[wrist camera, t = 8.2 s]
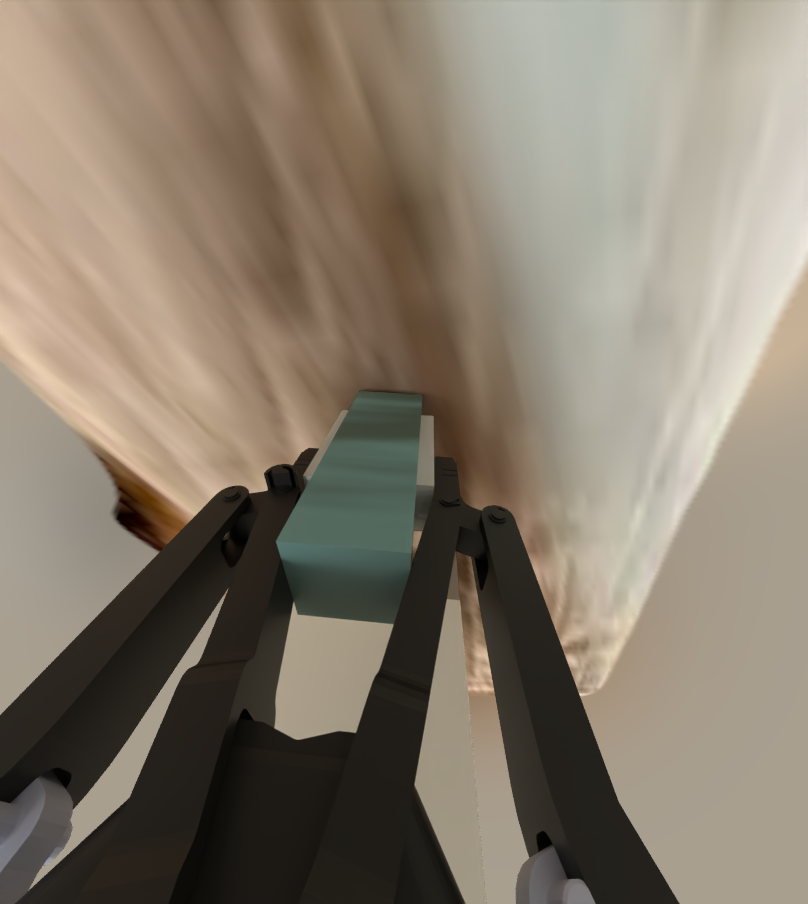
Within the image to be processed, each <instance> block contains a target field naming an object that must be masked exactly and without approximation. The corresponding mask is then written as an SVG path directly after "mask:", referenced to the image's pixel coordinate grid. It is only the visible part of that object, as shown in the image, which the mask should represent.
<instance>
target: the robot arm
mask: <svg viewBox="0 0 808 904" xmlns="http://www.w3.org/2000/svg"><path fill="white" fill-rule="evenodd" d="M348 411H349V410H342V411H341V413H340V415H339V416H338V418H337V420H336V421H335V423H334V425H333V426H332V428H331V430H330V431H329V433H328V435H327V436H326V438H325V440H324V441H323V443H322V445H321V446H320V448H319V449H316V448H308V449H306V450H305V451H304V452H302V453H301V454H300V456H299V457H298V459H297V460H296V462H295V463H294V465H293V466H292V465H289V464H281V465H276V466H273V467H271V468H269V469H268V470H267V471H266V472H265V473H264V476H265V479H266V483H267V487H268V490H267V491H264V492H258V493H250V494H249V491H248V489H247V488H246V487H243V486H232V487H228V488H225V489H223V490H221V491H220V492H219V493H217V494H216V495H215V496H214V497H213V498H212V499H211V500H210V501H209V502H208V503H207V505H206V506H205V507H204V508H203V509H202V510H201V511H200V512H199V513H198V514H197V515H196V516H195V517H194V518H193V519H192V520H191V521H190V522H189V523H188V524H187V525H186V526H185V527H184V528H183V529H182V530H181V531H180V532H179V533H178V534H177V535H176V536H175V537H174V538H173V539H172V540H171V541H170V542H169V543H168V544H167V545H166V546H165V547H164V548H163V549H162V550H161V551H160V553H159V554H158V555H157V556H156V557H155V558H154V559H153V560H152V561H151V562H150V563H149V564H148V565H147V566H146V567H145V568H144V569H143V570H142V571H141V572H140V573H139V574H138V575H137V576H136V577H135V578H134V579H133V580H132V581H131V582H130V583H129V584H128V585H127V586H126V587H125V588H124V589H123V590H122V591H121V592H120V593H119V594H118V595H117V596H116V598H115V599H114V600H113V601H112V602H111V603H110V604H109V605H108V606H107V607H106V608H105V609H104V610H103V611H102V612H101V613H100V614H99V615H98V616H97V617H96V618H95V619H94V620H93V621H92V622H91V623H90V624H89V625H88V626H87V627H86V628H85V629H84V630H83V631H82V632H81V633H80V634H79V635H78V636H77V637H76V638H75V639H74V640H73V641H72V642H71V643H70V644H69V645H68V647H67V648H66V649H65V650H64V651H63V652H62V653H61V654H60V655H59V656H58V657H57V658H56V659H55V660H54V661H53V662H52V663H51V664H50V665H49V666H48V667H47V668H46V669H45V670H44V671H43V672H42V673H41V674H40V675H39V676H38V677H37V678H36V679H35V680H34V681H33V682H32V683H31V684H30V685H29V687H27V688H26V690H25V691H24V692H22V694H21V695H20V696H19V697H18V698H17V699H16V700H15V701H14V702H13V703H12V704H11V705H10V706H9V707H8V708H7V709H6V710H5V711H4V712H3V713H2V714H1V715H0V904H465V901H464V899H463V897H462V894H461V892H460V890H459V887H458V885H457V883H456V880H455V878H454V876H453V873H452V871H451V869H450V866H449V864H448V862H447V859H446V857H445V855H444V852H443V850H442V848H441V845H440V843H439V841H438V838H437V836H436V834H435V831H434V829H433V827H432V824H431V822H430V820H429V817H428V815H427V813H426V810H425V808H424V806H423V803H422V801H421V799H420V796H419V794H418V792H417V789H416V787H415V779H416V773H417V768H418V762H419V756H420V751H421V745H422V739H423V733H424V728H425V722H426V716H427V711H428V705H429V699H430V692H431V686H432V680H433V675H434V669H435V663H436V658H437V652H438V646H439V641H440V635H441V629H442V624H443V618H444V612H445V607H446V601H447V595H448V590H449V584H450V578H451V573H452V567H453V561H454V556H455V551H457V552H460V553H463V554H465V555H468V556H471V559H472V565H473V571H474V576H475V582H476V588H477V594H478V599H479V605H480V611H481V617H482V622H483V628H484V634H485V640H486V645H487V651H488V657H489V662H490V668H491V674H492V680H493V685H494V691H495V697H496V703H497V708H498V714H499V720H500V726H501V731H502V737H503V743H504V749H505V754H506V760H507V765H508V771H509V777H510V783H511V788H512V793H513V798H514V802H515V807H516V812H517V816H518V820H519V824H520V827H521V830H522V834H523V837H524V841H525V845H526V848H527V852H528V855H529V857H530V858H529V859H528V860H527V861H526V862H525V863H524V864H523V865H522V867H521V870H520V872H519V874H518V878H517V884H516V904H679V902H678V901H677V899H676V897H675V895H674V894H673V892H672V890H671V889H670V887H669V885H668V884H667V882H666V880H665V879H664V877H663V875H662V874H661V872H660V870H659V869H658V867H657V865H656V864H655V862H654V861H653V859H652V857H651V855H650V854H649V852H648V850H647V849H646V847H645V846H644V844H643V842H642V840H641V839H640V837H639V835H638V834H637V832H636V830H635V829H634V827H633V825H632V824H631V822H630V820H629V819H628V817H627V815H626V814H625V812H624V810H623V809H622V807H621V805H620V804H619V802H618V799H617V796H616V793H615V791H614V788H613V785H612V783H611V780H610V777H609V774H608V772H607V769H606V766H605V764H604V761H603V758H602V755H601V753H600V750H599V747H598V744H597V742H596V739H595V736H594V733H593V731H592V728H591V725H590V723H589V720H588V717H587V714H586V712H585V709H584V706H583V703H582V701H581V698H580V695H579V693H578V690H577V687H576V684H575V682H574V679H573V676H572V674H571V671H570V668H569V665H568V663H567V660H566V657H565V655H564V652H563V649H562V646H561V644H560V641H559V638H558V636H557V633H556V630H555V627H554V625H553V622H552V619H551V616H550V614H549V611H548V608H547V606H546V603H545V600H544V597H543V595H542V592H541V589H540V587H539V584H538V581H537V578H536V576H535V573H534V570H533V568H532V565H531V562H530V559H529V557H528V554H527V551H526V548H525V546H524V543H523V540H522V538H521V535H520V532H519V529H518V527H517V524H516V521H515V519H514V517H513V515H512V513H511V512H509V511H508V510H507V509H505V508H503V507H501V506H495V505H493V506H487V507H485V508H484V509H483V510H482V511H481V510H478V509H475V508H472V507H470V506H468V505H467V504H465V503H464V502H463V499H462V498H461V496H460V490H459V482H458V473H457V465H456V463H455V461H454V460H453V459H452V458H447V457H434V416H426V415H421V426H420V440H419V454H418V469H417V483H416V497H415V511H414V526H413V530H414V531H423V532H422V535H421V538H420V541H419V545H418V548H417V551H416V554H415V557H414V561H413V564H412V567H411V570H410V574H409V577H408V580H407V583H406V586H405V590H404V593H403V596H402V599H401V602H400V606H399V609H398V612H397V615H396V618H395V622H394V625H393V628H392V631H391V635H390V638H389V641H388V644H387V647H386V651H385V654H384V657H383V660H382V663H381V666H380V669H379V671H378V673H377V674H376V675H375V678H374V680H373V682H372V685H371V688H370V691H369V694H368V697H367V700H366V703H365V706H364V709H363V712H362V715H361V719H360V722H359V725H358V728H357V731H356V733H353V732H344V731H336V732H332V733H327V734H323V735H318V736H314V737H309V738H305V739H300V740H297V739H294V738H292V737H290V736H288V735H286V734H284V733H283V732H281V731H279V730H277V729H275V728H274V727H275V717H276V704H275V700H276V691H277V686H278V681H279V675H280V670H281V665H282V660H283V655H284V649H285V644H286V639H287V634H288V629H289V623H290V618H291V613H292V608H293V602H294V600H293V597H292V594H291V590H290V587H289V584H288V580H287V577H286V574H285V570H284V567H283V563H282V560H281V557H280V553H279V550H278V547H277V543H276V540H277V538H278V537H279V535H280V533H281V531H282V529H283V528H284V526H285V524H286V522H287V520H288V519H289V517H290V515H291V513H292V511H293V510H294V508H295V506H296V504H297V502H298V501H299V499H300V497H301V495H302V493H303V492H304V490H305V488H306V486H307V484H308V483H309V481H310V479H311V477H312V475H313V474H314V472H315V470H316V468H317V466H318V465H319V463H320V461H321V459H322V457H323V456H324V454H325V452H326V450H327V448H328V447H329V445H330V443H331V441H332V439H333V438H334V436H335V434H336V432H337V430H338V429H339V427H340V425H341V423H342V421H343V420H344V418H345V416H346V414H347V412H348ZM226 534H227V535H226ZM225 535H226V536H225ZM228 588H229V589H228ZM227 589H228V591H227ZM226 591H227V594H226V597H225V599H224V602H223V604H222V607H221V609H220V612H219V614H218V617H217V619H216V622H215V624H214V627H213V629H212V632H211V635H210V637H209V639H208V642H207V645H206V647H205V650H204V653H203V655H202V657H201V659H200V661H199V662H198V664H197V665H195V666H193V667H191V668H189V669H188V670H187V671H186V672H185V673H184V675H183V676H182V678H181V680H180V682H179V684H178V686H177V688H176V690H175V692H174V695H173V697H172V699H171V702H170V704H169V706H168V709H167V711H166V714H165V716H164V718H163V721H162V723H161V725H160V728H159V730H158V732H157V735H156V737H155V739H154V742H153V744H152V746H151V749H150V751H149V753H148V756H147V758H146V761H145V763H144V765H143V768H142V770H141V773H140V775H139V777H138V779H137V782H136V784H135V786H134V789H133V791H132V794H131V796H130V798H129V799H128V800H127V801H126V802H124V804H122V805H121V806H120V807H119V808H118V809H117V810H116V811H115V812H114V813H112V814H111V815H110V816H109V817H108V818H107V819H106V820H105V821H104V822H103V823H102V824H101V825H99V826H98V827H97V829H95V830H94V831H93V832H92V833H91V834H90V835H89V836H88V837H86V838H85V839H84V840H83V841H82V842H81V843H80V844H79V845H78V846H77V847H76V848H75V849H73V851H71V852H70V853H69V854H68V855H67V856H66V857H65V858H64V859H63V860H62V861H60V862H59V863H58V864H57V865H56V866H55V867H54V868H53V869H52V870H51V871H50V872H48V874H46V875H45V876H44V877H43V878H42V879H41V880H40V881H39V882H38V883H37V884H35V885H34V886H33V887H32V888H31V889H30V890H29V888H30V886H31V884H32V883H33V881H34V879H35V877H36V875H37V873H38V872H39V870H40V869H41V868H42V866H45V865H46V864H48V863H49V862H51V861H52V860H53V859H55V857H56V856H57V855H58V854H59V853H60V852H61V851H62V850H63V848H64V847H65V845H66V843H67V842H68V840H69V838H70V835H71V831H72V824H71V822H70V819H71V816H72V811H73V809H74V808H75V807H76V806H77V805H78V803H79V802H80V801H81V800H82V799H83V798H84V796H85V795H86V794H87V793H88V792H89V791H90V789H91V788H92V787H93V786H94V784H95V783H96V782H97V781H98V779H99V778H100V777H101V775H102V774H103V773H104V771H106V769H107V768H108V767H109V766H110V764H111V763H112V761H113V760H114V758H115V757H116V756H117V754H118V753H119V751H120V750H121V748H122V747H123V746H124V744H125V743H126V741H127V740H128V739H129V737H130V735H131V734H132V732H133V731H134V730H135V728H136V727H137V725H138V724H139V722H140V721H141V719H142V718H143V716H144V714H145V713H146V712H147V710H148V709H149V707H150V706H151V704H152V702H153V701H154V699H155V698H156V696H157V695H158V693H159V692H160V690H161V689H162V687H163V686H164V684H165V683H166V681H167V680H168V678H169V677H170V675H171V674H172V672H173V671H174V669H175V668H176V666H177V665H178V663H179V662H180V660H181V659H182V657H183V656H184V654H185V653H186V651H187V650H188V648H189V647H190V645H191V643H192V642H193V641H194V639H195V638H196V636H197V634H198V633H199V632H200V630H201V628H202V627H203V625H204V624H205V622H206V621H207V619H208V618H209V616H210V615H211V613H212V611H213V610H214V609H215V607H216V606H217V604H218V603H219V601H220V600H221V598H222V597H223V595H224V594H225V592H226ZM28 890H29V891H28Z"/></svg>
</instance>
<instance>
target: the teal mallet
mask: <svg viewBox="0 0 808 904" xmlns="http://www.w3.org/2000/svg"><path fill="white" fill-rule="evenodd" d="M422 397H423V395H417V394H401V393H385V392H369V391H359V393H358V394H357V396H356V398H355V400H354V402H353V403H352V405H351V407H350V409H349V411H348V412H347V414H346V416H345V418H344V420H343V421H342V423H341V425H340V427H339V429H338V430H337V432H336V434H335V436H334V438H333V439H332V441H331V443H330V445H329V447H328V448H327V450H326V452H325V454H324V456H323V457H322V459H321V461H320V463H319V465H318V466H317V468H316V470H315V472H314V474H313V475H312V477H311V479H310V481H309V483H308V484H307V486H306V488H305V490H304V492H303V493H302V495H301V497H300V499H299V501H298V502H297V504H296V506H295V508H294V510H293V511H292V513H291V515H290V517H289V519H288V520H287V522H286V524H285V526H284V528H283V529H282V531H281V533H280V535H279V537H278V538H277V540H276V543H277V547H278V550H279V553H280V557H281V560H282V563H283V567H284V570H285V574H286V577H287V580H288V584H289V587H290V590H291V594H292V597H293V600H294V604H295V607H296V611H297V614H298V615H306V616H316V617H326V618H336V619H346V620H356V621H366V622H376V623H386V624H394V622H395V618H396V615H397V612H398V609H399V606H400V602H401V599H402V596H403V593H404V590H405V586H406V583H407V580H408V577H409V574H410V568H411V554H412V540H413V526H414V511H415V497H416V483H417V469H418V454H419V440H420V426H421V411H422Z"/></svg>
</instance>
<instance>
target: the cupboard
mask: <svg viewBox="0 0 808 904" xmlns="http://www.w3.org/2000/svg"><path fill="white" fill-rule="evenodd" d="M393 625H394V624H386V623H376V622H366V621H356V620H346V619H336V618H326V617H316V616H306V615H298V614H297V611H296V607H295V604H294V602H293V608H292V613H291V618H290V623H289V629H288V634H287V639H286V644H285V649H284V655H283V660H282V665H281V670H280V675H279V681H278V686H277V691H276V700H275V704H276V717H275V727H274V728H275V729H277V730H279V731H281V732H283V733H284V734H286V735H288V736H290V737H292V738H294V739H297V740H300V739H305V738H309V737H314V736H318V735H323V734H327V733H332V732H336V731H344V732H353V733H356V731H357V728H358V725H359V722H360V719H361V715H362V712H363V709H364V706H365V703H366V700H367V697H368V694H369V691H370V688H371V685H372V682H373V680H374V678H375V675H376V674H377V673H378V671H379V669H380V666H381V663H382V660H383V657H384V654H385V651H386V647H387V644H388V641H389V638H390V635H391V631H392V628H393ZM415 787H416V789H417V792H418V794H419V796H420V799H421V801H422V803H423V806H424V808H425V810H426V813H427V815H428V817H429V820H430V822H431V824H432V827H433V829H434V831H435V834H436V836H437V838H438V841H439V843H440V845H441V848H442V850H443V852H444V855H445V857H446V859H447V862H448V864H449V866H450V869H451V871H452V873H453V876H454V878H455V880H456V883H457V885H458V887H459V890H460V892H461V894H462V897H463V899H464V901H465V904H486V895H485V894H486V893H485V882H484V870H483V859H482V847H481V836H480V825H479V814H478V802H477V790H476V779H475V767H474V755H473V743H472V732H471V720H470V709H469V697H468V686H467V674H466V663H465V651H464V640H463V628H462V617H461V605H460V594H459V582H458V571H457V559H456V551H455V556H454V561H453V567H452V573H451V578H450V584H449V590H448V595H447V601H446V607H445V612H444V618H443V624H442V629H441V635H440V641H439V646H438V652H437V658H436V663H435V669H434V675H433V680H432V686H431V692H430V699H429V705H428V711H427V716H426V722H425V728H424V733H423V739H422V745H421V751H420V756H419V762H418V768H417V773H416V779H415Z"/></svg>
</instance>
